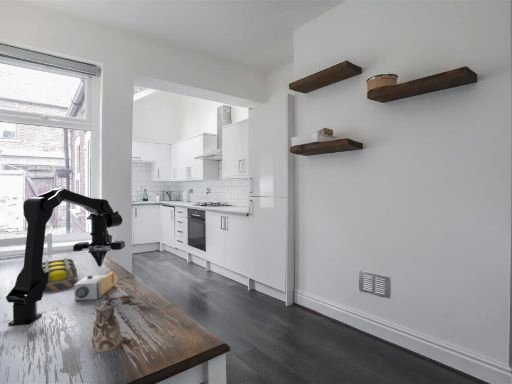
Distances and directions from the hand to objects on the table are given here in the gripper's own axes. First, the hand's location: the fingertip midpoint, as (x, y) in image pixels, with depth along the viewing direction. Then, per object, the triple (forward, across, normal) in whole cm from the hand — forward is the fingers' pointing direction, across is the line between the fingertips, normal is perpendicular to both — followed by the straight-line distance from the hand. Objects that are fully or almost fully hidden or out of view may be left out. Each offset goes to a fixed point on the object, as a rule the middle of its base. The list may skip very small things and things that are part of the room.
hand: (100, 266), depth 125 cm
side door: (+9, -4, +4) cm, 11 cm away
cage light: (+10, +24, -14) cm, 30 cm away
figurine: (+10, -20, +47) cm, 52 cm away
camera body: (+10, +1, +7) cm, 12 cm away
